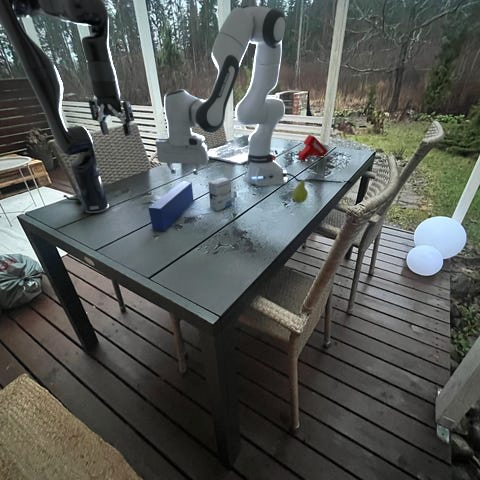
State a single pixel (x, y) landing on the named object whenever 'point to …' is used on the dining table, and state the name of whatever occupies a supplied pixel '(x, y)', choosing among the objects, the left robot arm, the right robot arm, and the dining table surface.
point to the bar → (171, 206)
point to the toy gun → (312, 148)
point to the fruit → (300, 192)
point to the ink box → (220, 193)
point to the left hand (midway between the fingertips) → (117, 134)
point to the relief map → (230, 153)
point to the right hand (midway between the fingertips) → (184, 173)
